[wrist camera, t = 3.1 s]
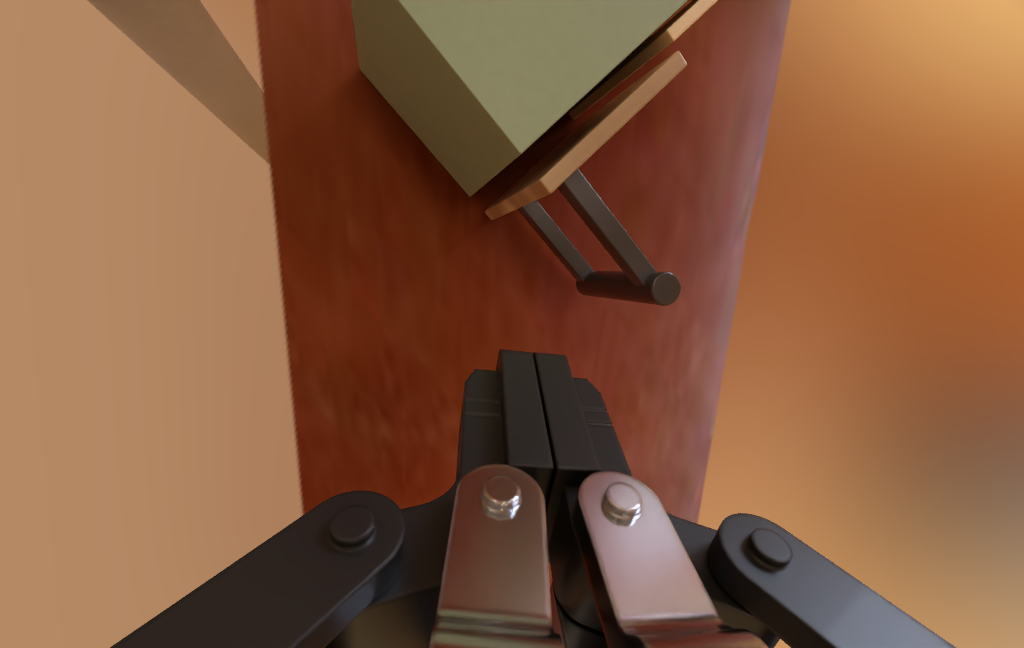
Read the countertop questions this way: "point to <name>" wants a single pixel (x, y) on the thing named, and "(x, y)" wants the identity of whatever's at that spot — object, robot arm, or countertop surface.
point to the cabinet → (504, 67)
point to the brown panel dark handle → (595, 200)
